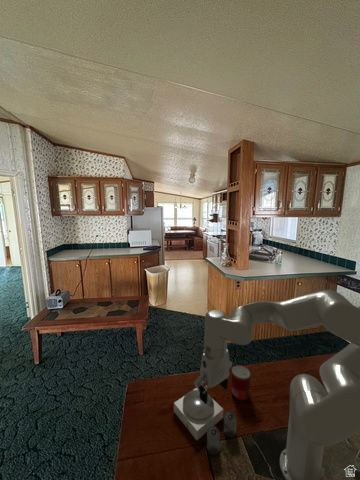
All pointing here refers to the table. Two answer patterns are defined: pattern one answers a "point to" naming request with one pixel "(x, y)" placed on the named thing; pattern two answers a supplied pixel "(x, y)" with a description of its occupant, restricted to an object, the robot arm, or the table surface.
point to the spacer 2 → (230, 424)
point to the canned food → (240, 382)
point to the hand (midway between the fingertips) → (213, 393)
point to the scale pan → (197, 405)
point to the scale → (195, 425)
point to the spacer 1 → (213, 440)
